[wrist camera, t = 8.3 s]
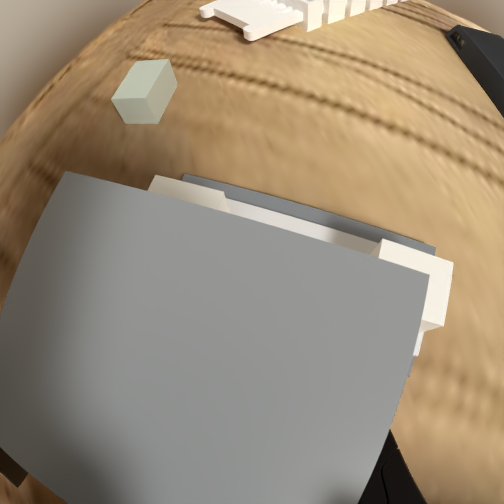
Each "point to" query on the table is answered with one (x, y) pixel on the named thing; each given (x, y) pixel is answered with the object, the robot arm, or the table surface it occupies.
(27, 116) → the table surface
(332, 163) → the table surface
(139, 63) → the box
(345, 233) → the board
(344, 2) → the organizer
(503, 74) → the dark grey faceted block
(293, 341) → the block
